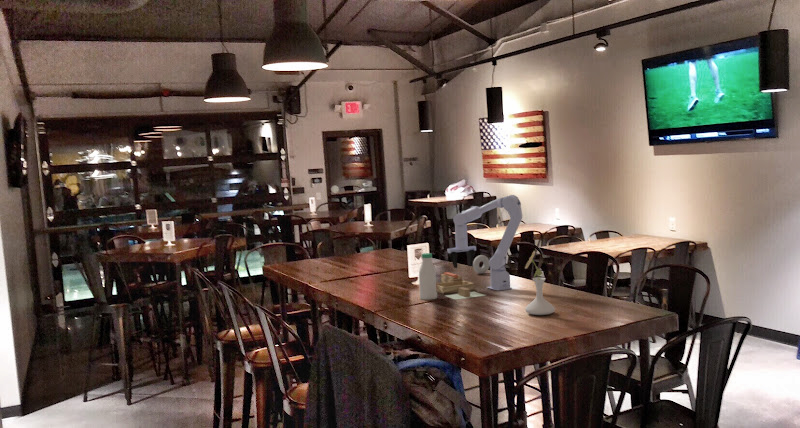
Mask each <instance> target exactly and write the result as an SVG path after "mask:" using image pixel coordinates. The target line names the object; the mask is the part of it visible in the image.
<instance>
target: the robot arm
mask: <svg viewBox="0 0 800 428" xmlns="http://www.w3.org/2000/svg"><path fill="white" fill-rule="evenodd" d="M495 208H498V209H504V210H505V211H506V212H507V213H508V216H509V217H510V219H509V221H508V223H507V226H506V228H505V230H504V233H503V236H502V237H501V240H500V242H499V244H498V246H497V249H496V251H495V252H494V254H493V255H492V257H490V258H489V271H490V272H489V273H490V274H489V275H490V276H489V277H490V278H489V279H490V286H486V288H487V289H491V290H494V291H505V290H511V289H513V288H512V287H511V275H510V273H509V271H507V269H506V266H505V265H506V263H507V256H508V251H509V250H510V247H511V245H512V242H513V241H514V238H515V235H516V234H517V231H518V229H519V226H520V224H521V221H522V220H523V210H522V202H521V200H520V199H519V197H518V196H517V195H515V194H510V195H507V196H504V197H499V198H497V199H495V200H494V199H493V200H492V201H489V202H488V203H485V204H484V205H482V206H481V205H480V206H478V205H477V206H476V205H475V206H474V205H472V206H470V208H468V209H466V210H462V211H461V212H460V213H456V214H455V215H454V216H453V219H452V221H453V223H454V232H455V233H454V238H455V239H454V240H455V247H450V248H447V249H446V250H447V253H448V256H449V258H450V259H451V262H452V265H453V268H454V269H458V255H459V254H458V253H461V252H462V253H463V252H465V253H466V259H467V262H466V263H467V266H468V267H472V265H473V261H474V257H475V255H476V251H477V246H475V245H470V246H468V245H469V243H468V241H469V240H468V225H467V224H468V223H471V222H473V221H475V220H477V219H479V218H481V217H482V215H483V214H484V213H486V212H488V211H491V210H493V209H495Z"/></svg>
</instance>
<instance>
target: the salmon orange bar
mask: <svg viewBox="0 0 800 428" xmlns="http://www.w3.org/2000/svg"><path fill="white" fill-rule="evenodd" d="M443 274H444V275H447V276H451V277H454V278H458V276H459V275H458V274H456V273H453V272H449V271H447V272H446V271H445V272H443Z"/></svg>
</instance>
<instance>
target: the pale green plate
mask: <svg viewBox="0 0 800 428" xmlns="http://www.w3.org/2000/svg"><path fill="white" fill-rule="evenodd" d="M485 296H487V294H484V293H481V292H476V291H471V290H470V289H468V288H464V287H461V288H458V292H457V293H452V294H445V297H447V298H449V299H452V300H456V301H457V300H465V299H471V298H477V297H478V298H480V297H485Z"/></svg>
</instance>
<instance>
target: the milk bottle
mask: <svg viewBox="0 0 800 428" xmlns="http://www.w3.org/2000/svg"><path fill="white" fill-rule="evenodd" d="M432 259H433V254H432V253H431V252H430V253H429V252H428V253H426V252H424V253H421V260H422V261H421V265H420V268H419V271H418V272H419V273H418V280H419V281H418V282H419V283H418V284H419V298H420V300H423V301H425V300H426V301H430V300H436V299H437V298H438V292H437V271H436V268H435V266H434V263H433V260H432Z"/></svg>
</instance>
